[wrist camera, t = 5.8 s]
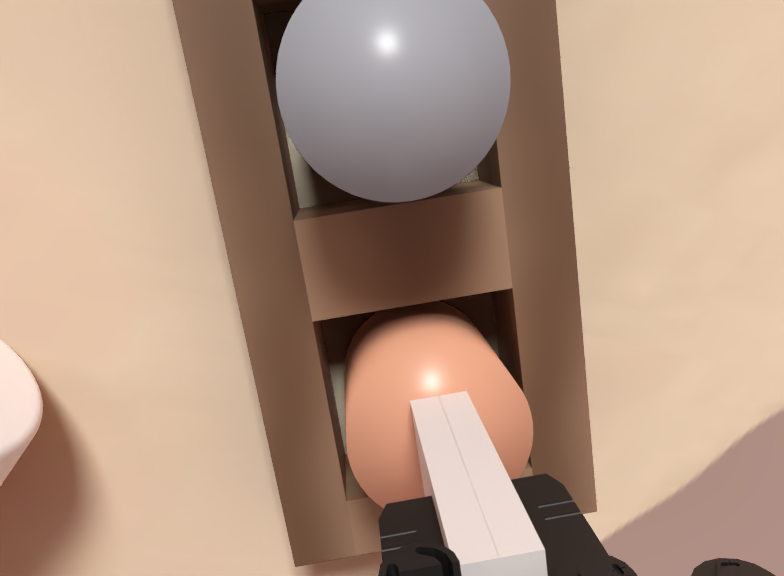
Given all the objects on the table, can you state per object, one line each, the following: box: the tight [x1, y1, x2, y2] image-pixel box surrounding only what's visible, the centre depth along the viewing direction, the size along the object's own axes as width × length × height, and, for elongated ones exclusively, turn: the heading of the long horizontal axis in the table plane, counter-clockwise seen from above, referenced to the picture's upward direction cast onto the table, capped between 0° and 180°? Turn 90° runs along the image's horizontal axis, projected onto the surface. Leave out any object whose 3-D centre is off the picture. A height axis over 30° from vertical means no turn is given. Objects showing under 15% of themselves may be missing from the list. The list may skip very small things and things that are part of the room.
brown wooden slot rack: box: [172, 0, 597, 567], centre depth 19 cm, size 10×28×3 cm, turn 9°
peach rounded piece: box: [344, 301, 533, 508], centre depth 20 cm, size 5×5×5 cm
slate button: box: [276, 0, 511, 202], centre depth 16 cm, size 5×5×5 cm
